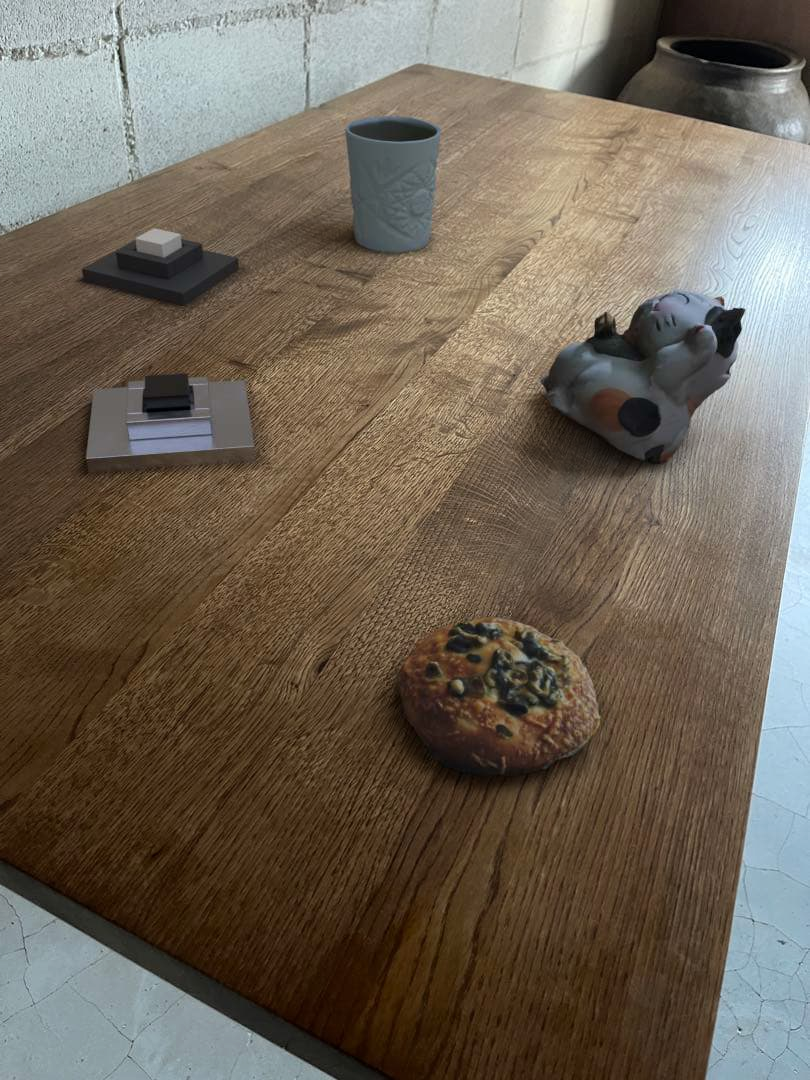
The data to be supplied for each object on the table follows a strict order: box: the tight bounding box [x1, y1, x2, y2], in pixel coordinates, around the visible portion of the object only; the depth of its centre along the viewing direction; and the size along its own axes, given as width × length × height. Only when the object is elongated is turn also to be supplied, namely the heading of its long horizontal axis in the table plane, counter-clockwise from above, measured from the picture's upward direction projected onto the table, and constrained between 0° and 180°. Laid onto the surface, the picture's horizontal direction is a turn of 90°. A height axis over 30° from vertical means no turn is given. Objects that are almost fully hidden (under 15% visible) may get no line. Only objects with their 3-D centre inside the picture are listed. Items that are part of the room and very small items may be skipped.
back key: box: [134, 227, 182, 258], centre depth 92 cm, size 3×3×2 cm
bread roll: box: [398, 617, 602, 778], centre depth 50 cm, size 11×11×5 cm
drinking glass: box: [344, 115, 442, 254], centre depth 101 cm, size 10×10×12 cm
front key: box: [144, 372, 191, 413], centre depth 70 cm, size 3×3×2 cm
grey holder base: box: [85, 376, 256, 474], centre depth 71 cm, size 12×10×3 cm
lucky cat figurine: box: [539, 288, 746, 464], centre depth 72 cm, size 15×12×14 cm
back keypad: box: [81, 238, 240, 306], centre depth 93 cm, size 12×10×3 cm
